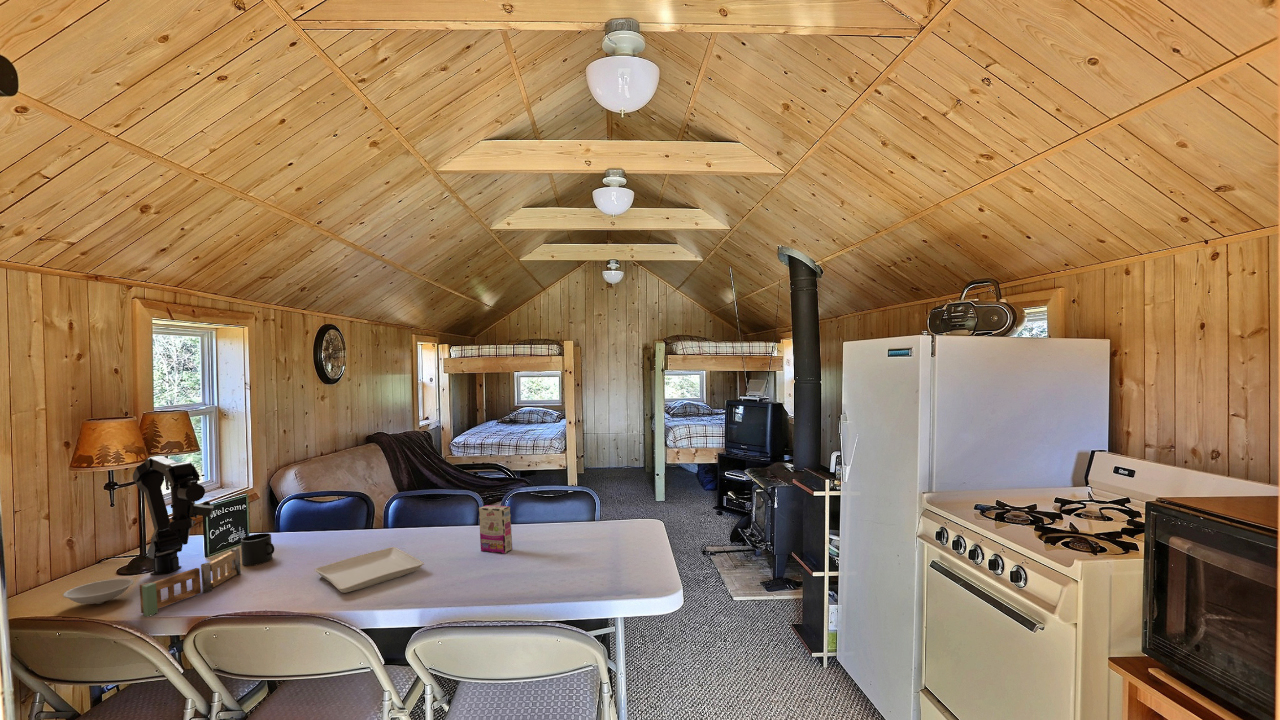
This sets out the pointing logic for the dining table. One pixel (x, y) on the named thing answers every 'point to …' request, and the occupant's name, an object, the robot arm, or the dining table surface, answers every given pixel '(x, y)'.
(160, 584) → the gate
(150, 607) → the post
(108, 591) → the dish
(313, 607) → the dining table surface
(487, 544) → the candy bar box
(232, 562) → the wooden fence panel
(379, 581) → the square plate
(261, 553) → the mug
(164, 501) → the robot arm
